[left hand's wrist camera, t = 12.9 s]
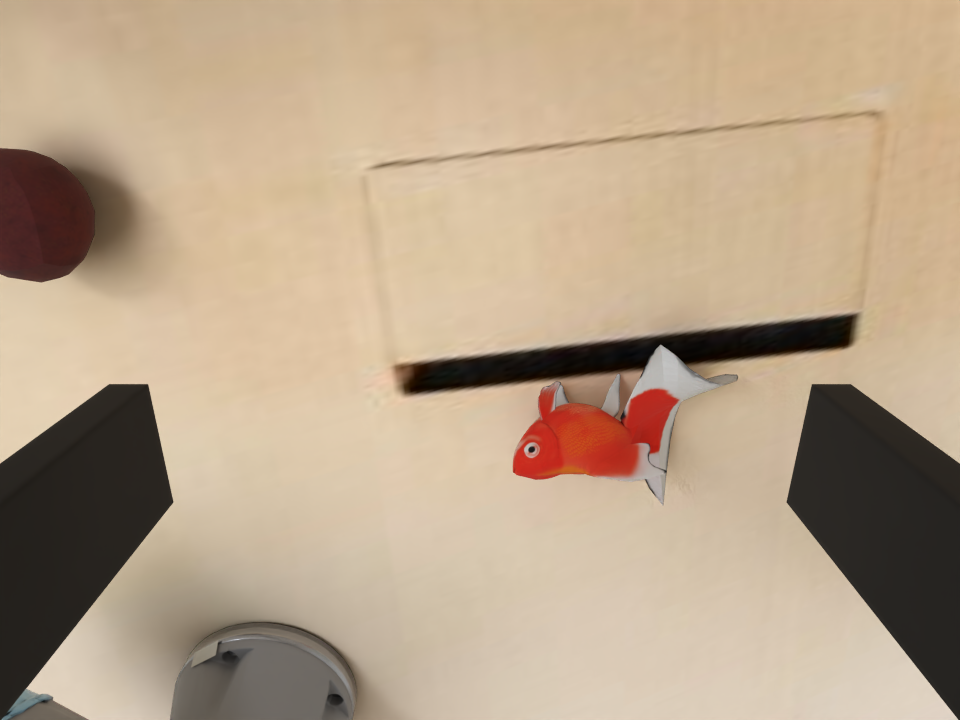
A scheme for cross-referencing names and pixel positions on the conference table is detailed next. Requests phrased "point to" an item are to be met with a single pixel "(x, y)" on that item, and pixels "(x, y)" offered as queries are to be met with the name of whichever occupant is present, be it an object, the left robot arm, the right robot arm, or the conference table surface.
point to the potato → (41, 217)
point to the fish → (613, 427)
